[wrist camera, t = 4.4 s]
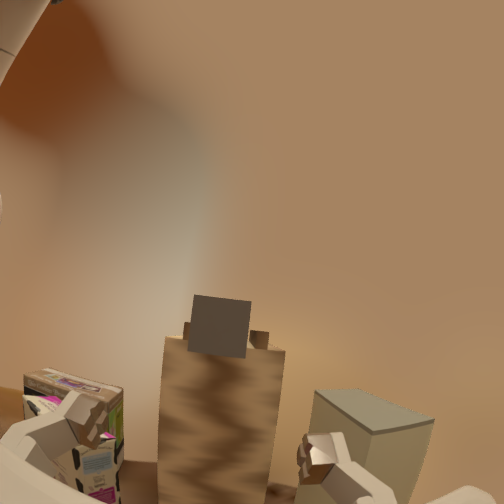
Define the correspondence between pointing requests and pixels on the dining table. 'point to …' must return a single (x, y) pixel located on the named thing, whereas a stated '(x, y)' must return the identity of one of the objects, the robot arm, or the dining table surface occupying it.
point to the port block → (371, 439)
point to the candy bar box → (82, 458)
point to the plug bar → (219, 326)
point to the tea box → (63, 383)
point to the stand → (217, 422)
